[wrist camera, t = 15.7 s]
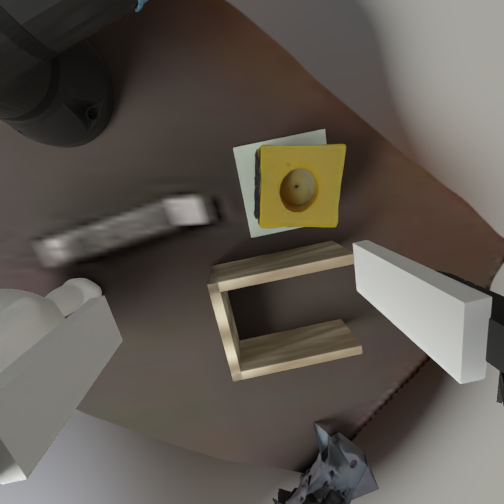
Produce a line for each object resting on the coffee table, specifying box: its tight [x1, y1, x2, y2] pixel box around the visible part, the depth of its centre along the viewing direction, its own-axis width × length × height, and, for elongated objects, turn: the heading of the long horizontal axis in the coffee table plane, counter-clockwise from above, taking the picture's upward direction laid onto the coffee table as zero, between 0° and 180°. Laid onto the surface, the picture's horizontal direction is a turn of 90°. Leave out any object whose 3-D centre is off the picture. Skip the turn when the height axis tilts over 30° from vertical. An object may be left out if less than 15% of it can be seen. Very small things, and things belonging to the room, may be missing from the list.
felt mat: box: [233, 129, 327, 238], centre depth 40 cm, size 14×14×1 cm
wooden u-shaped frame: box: [207, 240, 362, 381], centre depth 42 cm, size 17×21×8 cm
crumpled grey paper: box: [273, 422, 379, 504], centre depth 53 cm, size 18×20×9 cm
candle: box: [254, 144, 346, 229], centre depth 35 cm, size 10×10×10 cm
